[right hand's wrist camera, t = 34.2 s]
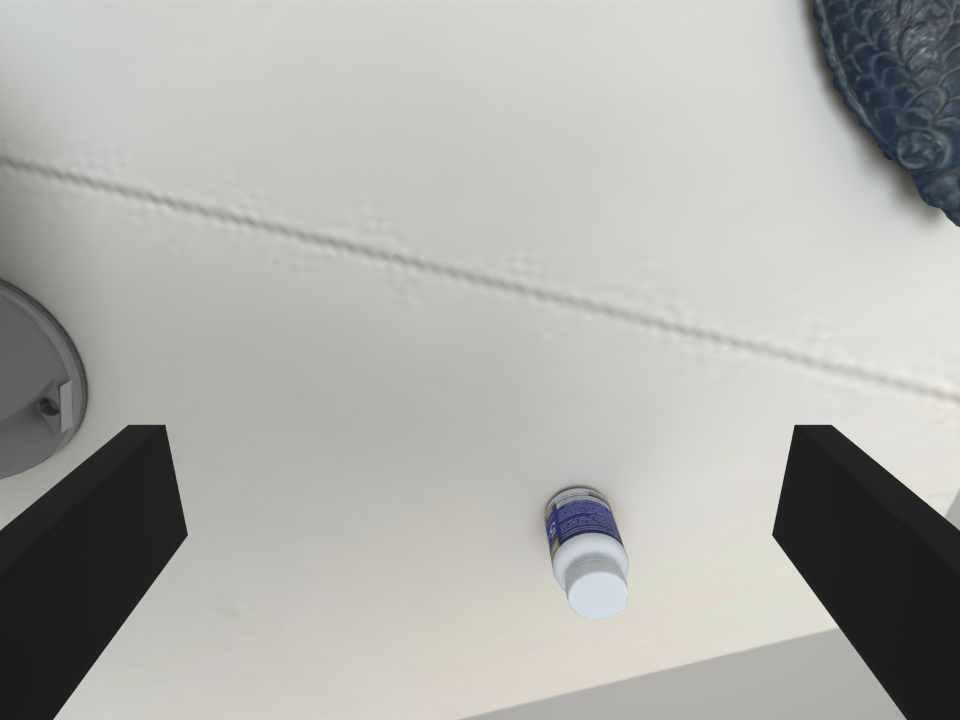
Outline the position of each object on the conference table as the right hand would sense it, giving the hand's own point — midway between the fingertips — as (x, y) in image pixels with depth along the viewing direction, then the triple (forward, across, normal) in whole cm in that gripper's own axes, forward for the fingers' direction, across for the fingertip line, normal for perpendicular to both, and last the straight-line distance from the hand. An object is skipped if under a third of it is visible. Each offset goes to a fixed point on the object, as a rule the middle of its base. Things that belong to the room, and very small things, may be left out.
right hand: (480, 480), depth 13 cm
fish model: (+29, -24, -11) cm, 39 cm away
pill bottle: (+29, -8, +21) cm, 37 cm away
